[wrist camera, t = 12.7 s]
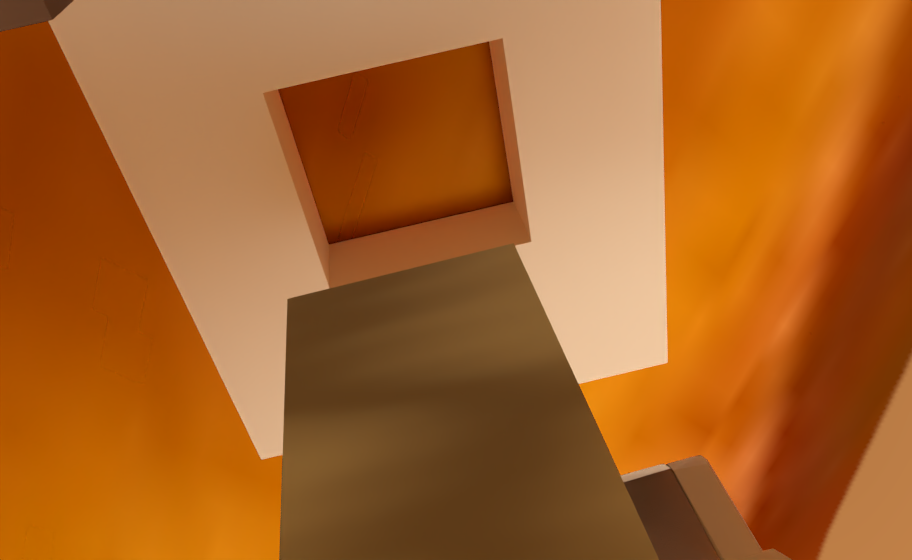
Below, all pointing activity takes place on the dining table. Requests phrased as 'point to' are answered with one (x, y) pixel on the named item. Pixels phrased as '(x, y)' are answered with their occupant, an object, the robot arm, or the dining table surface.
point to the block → (443, 425)
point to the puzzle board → (331, 265)
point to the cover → (29, 12)
